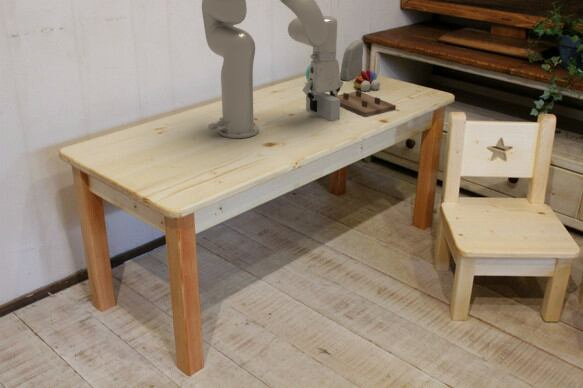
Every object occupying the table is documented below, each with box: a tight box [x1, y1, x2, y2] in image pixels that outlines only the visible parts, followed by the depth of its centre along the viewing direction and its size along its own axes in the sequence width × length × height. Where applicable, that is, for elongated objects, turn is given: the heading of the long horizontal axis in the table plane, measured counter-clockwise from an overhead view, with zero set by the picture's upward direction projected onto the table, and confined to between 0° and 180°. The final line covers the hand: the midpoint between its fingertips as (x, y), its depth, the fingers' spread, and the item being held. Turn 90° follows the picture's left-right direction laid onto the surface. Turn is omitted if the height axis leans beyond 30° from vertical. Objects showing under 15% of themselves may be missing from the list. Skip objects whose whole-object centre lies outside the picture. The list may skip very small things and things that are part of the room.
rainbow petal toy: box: [353, 69, 381, 92], centre depth 238 cm, size 8×10×7 cm
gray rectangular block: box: [305, 90, 341, 122], centre depth 211 cm, size 4×14×7 cm, turn 34°
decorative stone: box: [340, 39, 364, 82], centre depth 249 cm, size 11×6×15 cm, turn 143°
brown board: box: [336, 89, 397, 118], centre depth 221 cm, size 14×20×4 cm
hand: (322, 108), depth 212 cm, fingers open, 6 cm apart
